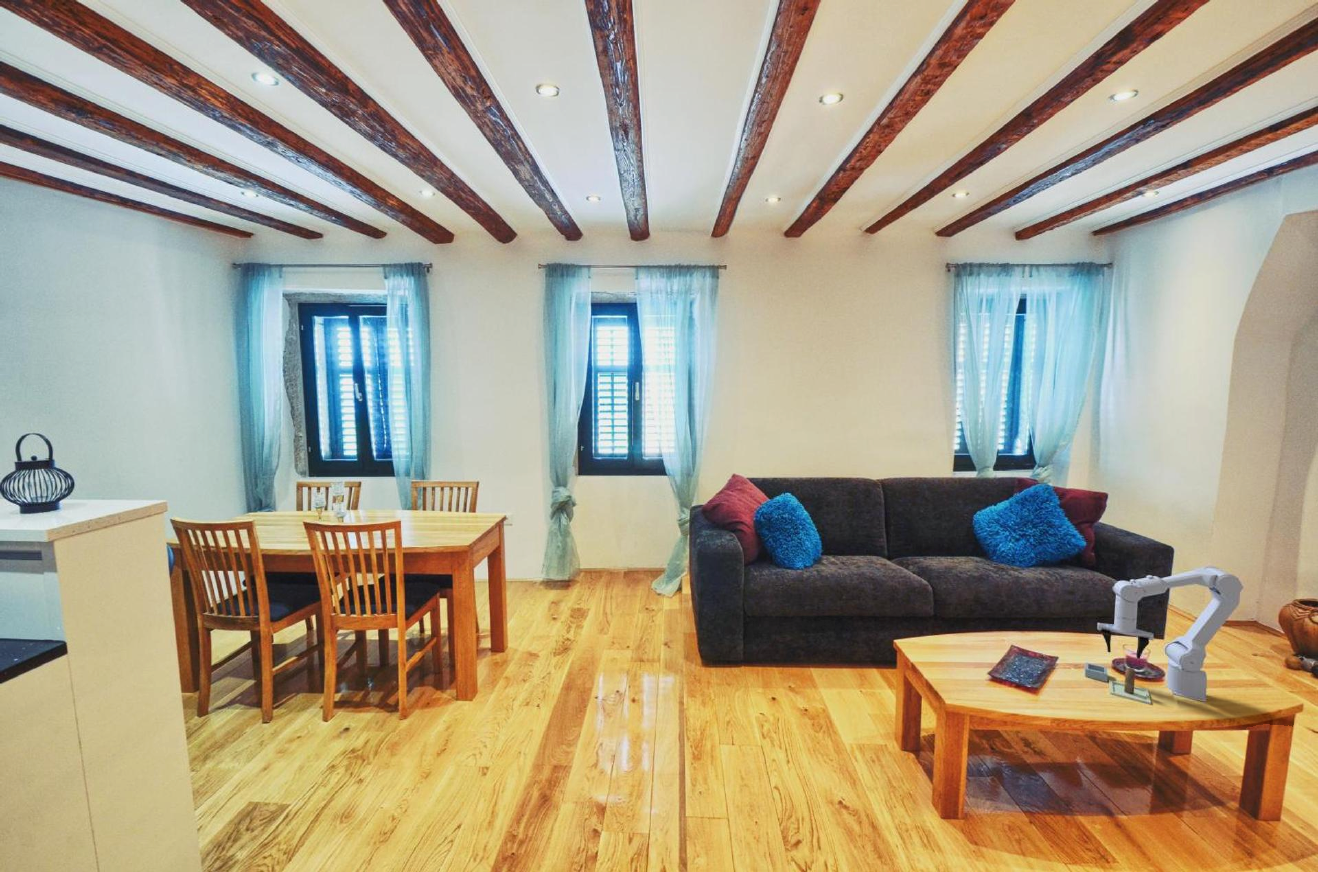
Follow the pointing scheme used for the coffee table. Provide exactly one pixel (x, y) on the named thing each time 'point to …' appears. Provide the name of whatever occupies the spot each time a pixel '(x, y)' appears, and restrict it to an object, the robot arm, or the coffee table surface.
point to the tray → (1138, 695)
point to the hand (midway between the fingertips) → (1123, 654)
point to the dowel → (1129, 681)
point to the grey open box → (1096, 672)
